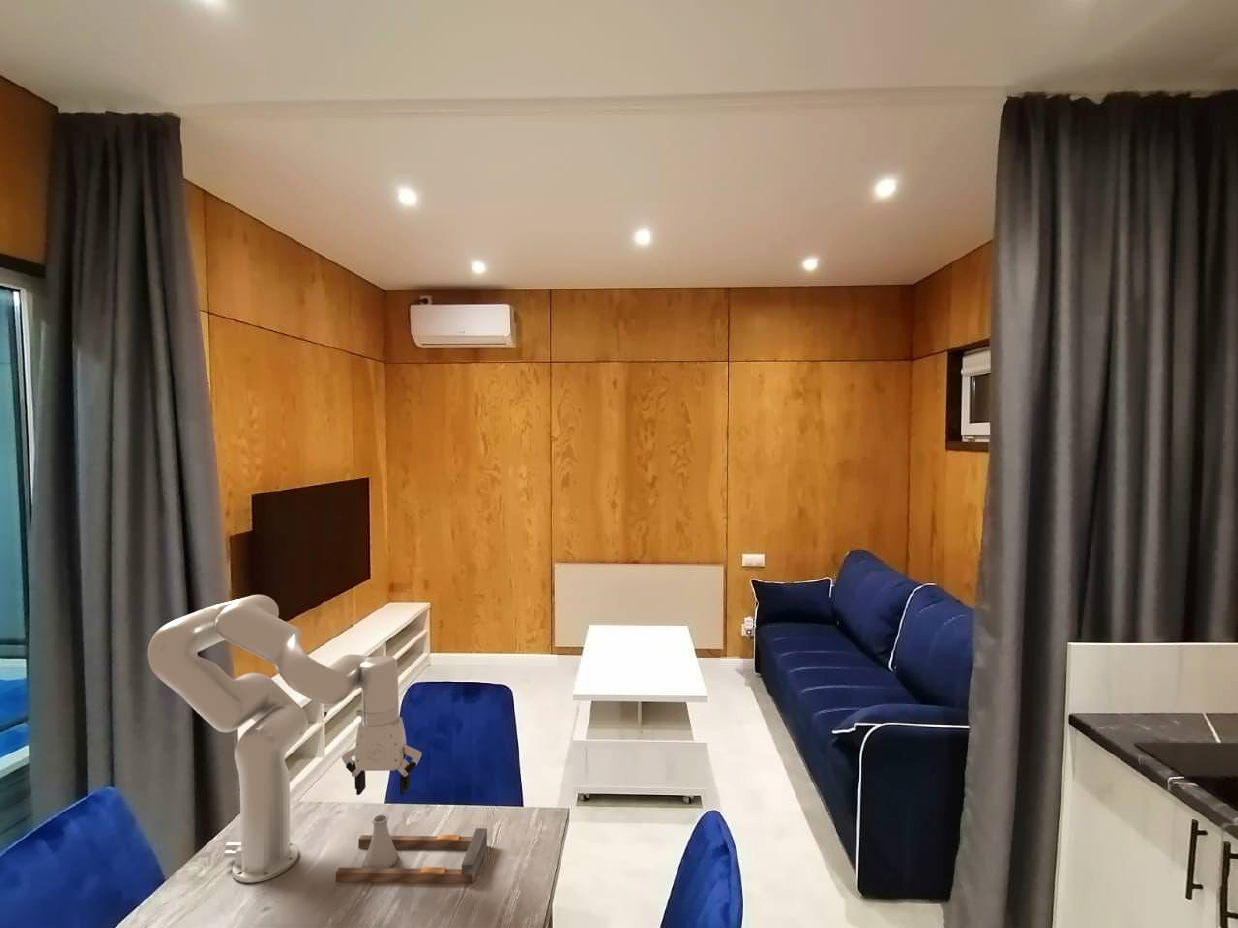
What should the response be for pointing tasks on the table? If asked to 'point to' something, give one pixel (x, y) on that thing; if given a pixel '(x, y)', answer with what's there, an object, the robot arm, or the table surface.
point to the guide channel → (426, 874)
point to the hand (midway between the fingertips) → (382, 791)
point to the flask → (380, 846)
